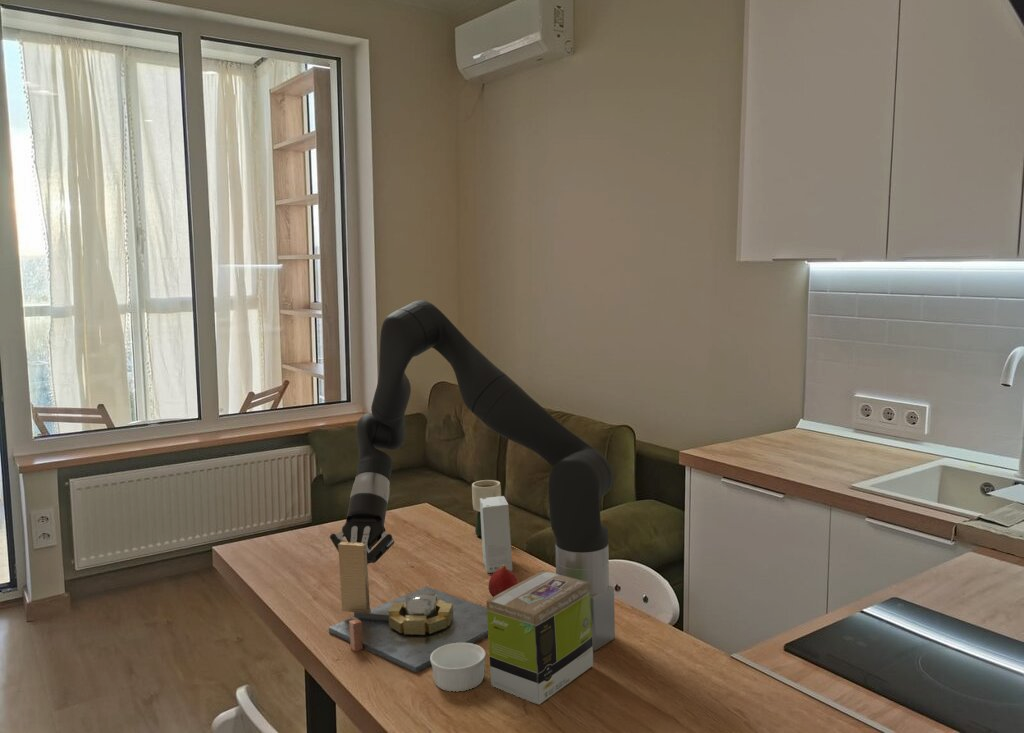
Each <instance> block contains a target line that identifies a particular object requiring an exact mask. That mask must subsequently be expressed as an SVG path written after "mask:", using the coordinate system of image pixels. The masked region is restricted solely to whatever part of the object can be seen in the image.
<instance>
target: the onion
mask: <svg viewBox="0 0 1024 733" xmlns="http://www.w3.org/2000/svg"><path fill="white" fill-rule="evenodd" d="M518 583H519V580H518V579H517V577H516V575H515V574H514V572H512V571H509V570H508V569H506V566H505V565H502V566H501V567H500V568H499V569H498V570H497V571H496V572H492V575H491V576H490V578H489V581H488V587H487V588H488V591H489V592H488V593H489V594H490V595H491V598H492V597H494V596H496V595H498V594H499V593H501V592H503V591H505V590H507V589H509V588H510V587H512V586H514V585H516V584H518Z"/></svg>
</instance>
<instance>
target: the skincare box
mask: <svg viewBox="0 0 1024 733" xmlns="http://www.w3.org/2000/svg"><path fill="white" fill-rule="evenodd" d="M480 515H481V533H482V536H481V546H482V549H481V550H482V561H483V565H484V568H485V570H486V573H487V574H488V573H489V574H491V573H492V574H493V573H494V572H496V571H497V570H498V569H499V568H500V567H501V566H502V565H505V566H506V569H508V570H509V571H511V572H512V571H513V560H512V559H513V558H512V555H513V554H512V543H511V541H512V540H511V528H510V527H511V526H510V514H509V503H508V501H507V499H506V497H505V496H504V495H501V496H498V497H489V498H480Z"/></svg>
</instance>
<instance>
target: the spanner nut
mask: <svg viewBox="0 0 1024 733" xmlns="http://www.w3.org/2000/svg"><path fill="white" fill-rule="evenodd" d="M337 551H339V552H338V563H339V564H338V566H339V582H340V597H341V598H340V599H341V611H342V612H349V613H353V615H354V616H353V617H354V618H366V619H378V620H389V625H390V627H391V628H393V629H394V630H396V631H398V632H399V633H403V632H404V634H418V635H425V634H426V632H427V633H429V634H431V633H433V632H436V631H439V630H442V629H444V628H447V626H450V623H451V621H452V619H453V603H446V602H444V601H442V600H438V601H437V595H436V614H437V615H438V616H435V617H432V618H429V619H427V616H411V615H406V608H405V602H404V603H396V602H394V603H393V605H392V606H391V608H390V609H389V611H384V610H371V609H372V608H370V607H371V604H370V588H369V587H370V586H369V570H368V564H367V550H366V543H354V542H348V541H344V542H341V543H339V544H338V550H337Z"/></svg>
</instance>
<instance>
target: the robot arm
mask: <svg viewBox="0 0 1024 733" xmlns="http://www.w3.org/2000/svg"><path fill="white" fill-rule="evenodd" d="M379 337H380V338H379V358H378V361H379V362H378V364H379V367H378V380H377V384H376V387H375V388H376V389H375V391H374V395H373V398H372V402H371V409H370V411H371V412H367V413H364V414H363V415H361V416H360V418H359V419H358V420H357V424H356V432H355V433H356V440H357V446H358V448H357V449H358V463H357V468H356V469H357V470H356V473H355V478H354V479H355V480H354V482H353V484H352V489H351V491H350V495H349V496H350V499H349V504H348V508H347V514H346V518H345V519H346V521H345V524H343V526H342V529H341V531H339V532H338V533H331V534H330V536H329V539H330V541H331V542H332V544H333V545H334V547H335V548H336V550H337V551H338V544H339V543H341V542H345V540H344V539H346V540H347V541H346V542H354V543H366V550H367V565H369V564H375V563H376V562H378V561H379V559H380V558H382V557H383V555H384V554H385V553H386V552H388V550H389V549H391V547H392V546H394V544H395V540H394V538H393V536H392V534H390V533H388V532H386V528H385V521H386V516H387V515H386V514H387V508H388V502H389V499H390V498H389V497H390V482H391V477H392V476H391V475H392V472H393V458H392V457H391V456H390V455H389V454H387V453H385V452H384V451H381V450H380V449H382V450H387V451H397V450H399V449H400V448H402V446H404V444H405V440H406V436H407V428H406V420H405V413H406V412H407V411H406V410H407V409H408V408H407V407H408V404H409V401H410V398H411V393H412V392H411V390H412V388H411V387H412V386H411V383H410V380H409V378H408V376H407V374H406V373H405V371H406V370H407V367H408V365H409V363H410V362H411V361H412V359H413V358H415V357H417V356H419V355H421V354H423V353H425V352H427V351H428V350H429V349H434V350H435V351H437V352H438V353H439V354H440V355H441V356H442V357H443V358H444V359H445V360H446V361H447V362H448V363H449V364H450V367H452V370H453V372H454V374H455V378H456V381H457V386H458V389H459V393H460V396H461V399H462V401H463V403H464V404H465V406H466V408H468V410H469V411H470V412H471V413H472V414H473V415H474V416H476V418H478V419H479V421H481V422H482V423H483V424H484V425H485V426H487V427H488V428H489V429H490V430H492V431H493V432H494V433H496V434H497V435H499V436H501V437H503V438H505V439H508V440H510V441H512V442H513V443H516V444H518V445H520V446H523V447H525V448H526V449H529V450H530V451H532V452H534V453H535V454H537V455H538V456H540V458H542V459H543V460H544V461H546V462H547V463H548V464H549V465H550V466H551V467H552V468H551V470H550V472H549V476H548V482H547V483H548V485H547V486H548V490H547V491H548V492H547V493H548V508H549V520H550V521H549V522H550V527H551V530H552V532H553V534H554V540H555V542H554V543H555V544H554V546H555V574H558V575H562V576H566V577H570V578H574V579H579V580H583V581H587V582H589V583H590V602H591V621H592V645H593V652H594V651H597V650H599V649H600V648H601V647H604V646H605V645H606V644H608V643H609V642H611V641H613V640H614V638H615V639H616V627H615V626H616V625H615V624H616V621H615V619H616V618H615V587H614V586H613V585H610V572H609V571H610V567H609V566H610V565H609V562H610V561H609V558H610V557H609V530H608V528H607V526H606V525H605V524H604V523H602V521H601V507H600V506H601V505H600V503H601V502H600V501H601V500H600V499H601V498H603V497H604V496H606V494H608V493H609V492H610V490H611V489H612V487H613V484H614V477H615V476H614V470H613V468H612V465H611V464H610V462H609V460H608V459H607V457H605V456H604V455H603V454H602V453H601V452H600V451H598V450H597V449H596V448H594V447H593V446H592V445H591V444H589V443H588V442H586V441H584V440H583V439H582V438H580V437H579V436H578V435H576V434H574V433H573V432H572V431H570V430H569V429H568V428H566V426H564V425H563V424H561V423H560V422H559V421H558V420H557V419H555V418H554V416H553V415H551V414H550V413H549V412H548V411H547V410H546V409H545V408H544V407H543V406H541V405H540V404H539V403H538V402H537V401H536V400H534V399H533V397H531V396H530V394H528V393H527V392H526V391H525V390H524V389H522V387H521V386H519V384H517V383H516V382H515V381H514V380H513V379H512V378H511V377H509V376H508V375H507V374H506V373H505V372H504V371H502V370H501V369H500V368H498V367H497V366H496V365H495V364H494V363H493V362H492V361H491V360H489V358H487V357H486V356H485V355H484V354H483V353H482V352H481V351H480V350H479V349H478V348H476V347H475V346H474V344H473V343H471V342H470V341H469V340H468V339H467V338H466V336H465V335H463V333H461V331H460V330H459V329H458V328H457V326H455V325H454V323H453V322H452V321H451V320H450V319H449V318H448V317H447V316H446V315H445V314H444V313H443V312H442V311H441V310H440V309H439V308H438V307H437V306H435V305H434V304H433V303H431V302H429V301H427V300H422V299H420V300H415V301H413V302H411V303H409V304H407V305H405V306H403V307H401V308H399V309H397V310H394V311H393V312H391V313H390V314H388V315H387V316H386V317H385V318H384V320H383V322H382V324H381V329H380V336H379ZM374 546H375V547H374ZM338 553H339V551H338Z"/></svg>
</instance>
